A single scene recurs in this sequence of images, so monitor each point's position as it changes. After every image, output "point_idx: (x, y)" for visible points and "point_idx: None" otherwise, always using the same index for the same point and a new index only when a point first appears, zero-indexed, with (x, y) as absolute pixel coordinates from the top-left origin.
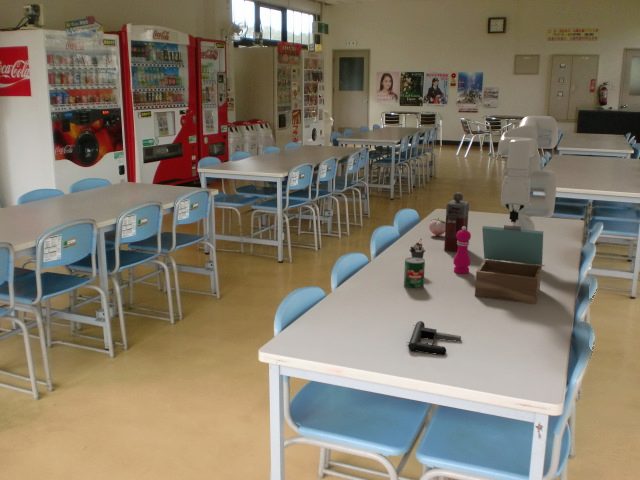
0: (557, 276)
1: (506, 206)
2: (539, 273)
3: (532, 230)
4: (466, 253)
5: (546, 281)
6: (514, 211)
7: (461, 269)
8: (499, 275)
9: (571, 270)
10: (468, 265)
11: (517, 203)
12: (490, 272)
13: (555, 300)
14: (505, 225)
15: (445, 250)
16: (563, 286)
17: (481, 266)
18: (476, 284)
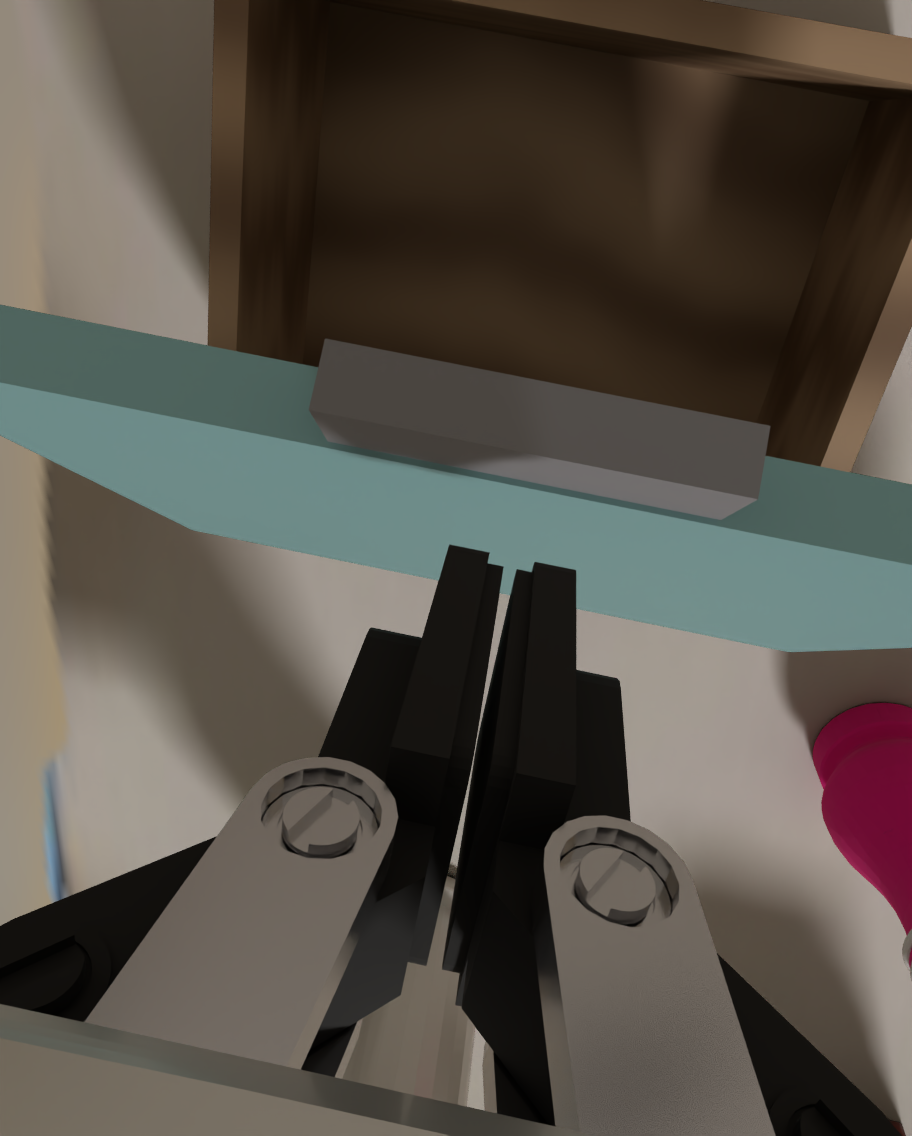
0: (175, 741)
1: (855, 1109)
2: (213, 217)
3: (61, 389)
4: (904, 848)
5: (241, 629)
6: (447, 945)
7: (898, 729)
8: (703, 3)
9: (103, 859)
10: (847, 759)
11: (166, 1086)
12: (822, 58)
13: (147, 150)
14: (724, 483)
15: (895, 1127)
16: (119, 539)
17: (886, 333)
18: None
